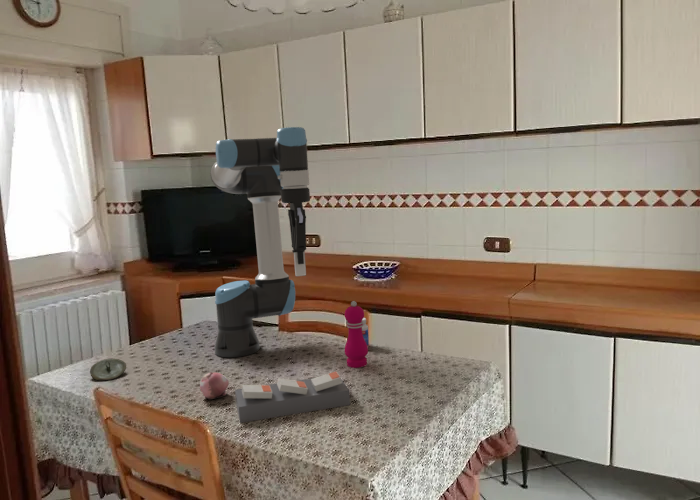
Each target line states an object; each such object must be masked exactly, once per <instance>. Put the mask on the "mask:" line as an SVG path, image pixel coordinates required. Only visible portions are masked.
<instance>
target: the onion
mask: <svg viewBox="0 0 700 500" xmlns="http://www.w3.org/2000/svg"><path fill="white" fill-rule="evenodd" d="M229 382H230V381H229V379H228V378H227V377H226V375H224V374H222V373H219V372H212V371H210V372H208V373H205V374H204V375H203V376H202V377H201V379H200V382H199V389H200V391H201V393H202V395H203V396H204V397H205V398H206V399H207V400H208V401H211V400H213V399H218V398H222V397H225V396H226V395H227V394H228V392H227V389H228V387H229Z"/></svg>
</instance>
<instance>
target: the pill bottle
mask: <svg viewBox="0 0 700 500" xmlns="http://www.w3.org/2000/svg"><path fill="white" fill-rule="evenodd" d="M362 321H363V326H362V334H363V338H364V340H365V342H366V344H367V347H368V348H369V346H370V342H369V338H370V337H369V336H370V335H369V326H368V324H366V323H367V318H366V317H364V318H363V319H362Z"/></svg>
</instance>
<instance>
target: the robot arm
mask: <svg viewBox="0 0 700 500" xmlns="http://www.w3.org/2000/svg"><path fill="white" fill-rule="evenodd" d="M306 134H307V133H306V130H305V128H304V127H302V126H301V127H300V126H296V127H295V126H292V127H291V126H290V127H289V126H288V127H281V128H279V129H277V131H276V137H263V138H261V137H260V138H239V139H238V138H237V139H235V138H234V139H233V138H226V139H221V140H217V141H216V143H215V158H216V161H215V162H214V163H213V165H212V166H211V169H210V173H209V174H210V175H209V176H210V180H211V182H212V184H213V185H214V186H215V187H216V188H218V189H219V190H221V191H223V192H225V193H229V194H232V195H233V194H235V195H241V194H242V195H243V194H246V195H247V200H248V201H249V202H250V203H251V204H252V212H253V222H254V233H255V234H254V235H255V244H256V255H257V256H256V257H257V267H258V274H257V275H256V276H255V277H254V278H255V279H254V283H252V284H251V283H250V281H249V280H246V279H245V280H236V281H231V282H228V283H225V284H222V285H220V286H219V287H217V288H216V289H215V294H214V295H215V301H214V304H215V305H216V306H215V307H216V317H217V319H216V320H217V334H216V338H215V342H214V343H215V344H214V354H215V355H216V356H217V357H222V358H239V357H240V358H241V357H245V356H249V355H252V354H255V353H257V352H258V351H259V350H260V349H261V348H260V347H261V346H260V341H259V338H258V335H257V333H256V331H255V329H254V323H253V319H254V320H255V319H259V318H267V317H275V316H277V317H280V316H282V315H287V314H290V313H291V312H292V311H293V310H294V307H295V302H296V288H295V286H296V285H295V282H294V280H292V279H290V275H289V274H288V273H287V272H286V271H285V269H284V258H283V246H282V236H281V235H282V234H281V224H280V213H279V201H280V200H281V203H283V204H289V209H288V210H287V215H288V220H289V228H290V229H289V230H290V239H291V248H292V250H291V251H292V253H293V261H294V262H293V263H294V272H295V273H294V274H295V277H303V276H306V275H307V269H306V250H307V240H306V239H307V235H306V234H307V233H306V228H307V226H306V222H307V215H306V210H305V209H304V208H303V203H307V202H308V203H309V202H310V201H311V194H310V191H311V190H310V188H309V187H308V186H309V185H310V177H309V175H310V173H309V167H308V166H309V162H308V147H307V146H308V145H307V144H308V143H307V142H308V139H307V135H306Z"/></svg>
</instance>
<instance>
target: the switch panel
mask: <svg viewBox="0 0 700 500" xmlns="http://www.w3.org/2000/svg"><path fill="white" fill-rule="evenodd" d="M313 378H314V377H313ZM313 378H312V377H311V378H306V379H299V380H297V379H296V381H301V382H304V383H305V384H306V386H307V388H308V390H307V394H298V393H291V392H284V391H279V388H278V386H277V383H272V384H269V385H270V387H271V390H272V399H269V398H243V394H242V388H237V389H234V393H235V394H234V395H235V405H236V409H237V416H238V419H239V420H238V421H239V423H240V424H241V423H246V422H253V421H260V420H265V419H271V418H278V417H282V416H288V415H290V416H291V415H297V414H302V413H310V412H314V411H320V410H326V409H333V408H340V407H346V406H351V397H350V396H351V395H350V393H351V392H350V389H349V388H348V386H347V385H346V383H345V382H344V381H343V379H342V378H341V380H342V383H341V384H338V385H335V386H332V387H329V388H326V389H323V390H320V391H317V392H316V390H315V389H314V387H313V385H312V382H311V379H313Z"/></svg>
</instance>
